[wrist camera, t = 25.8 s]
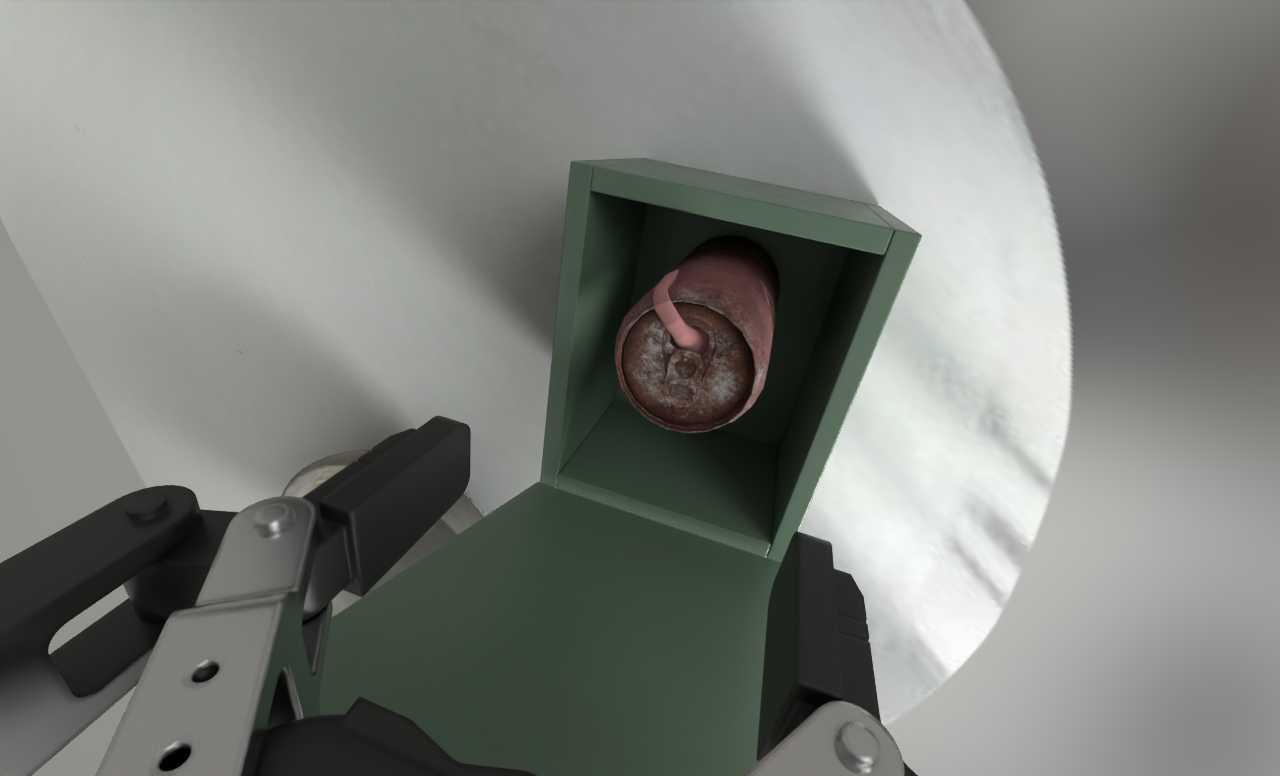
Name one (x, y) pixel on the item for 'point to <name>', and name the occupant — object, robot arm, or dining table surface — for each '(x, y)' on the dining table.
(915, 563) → the dining table surface
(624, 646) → the lid
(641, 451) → the chest
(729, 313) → the can
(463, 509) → the bowl
